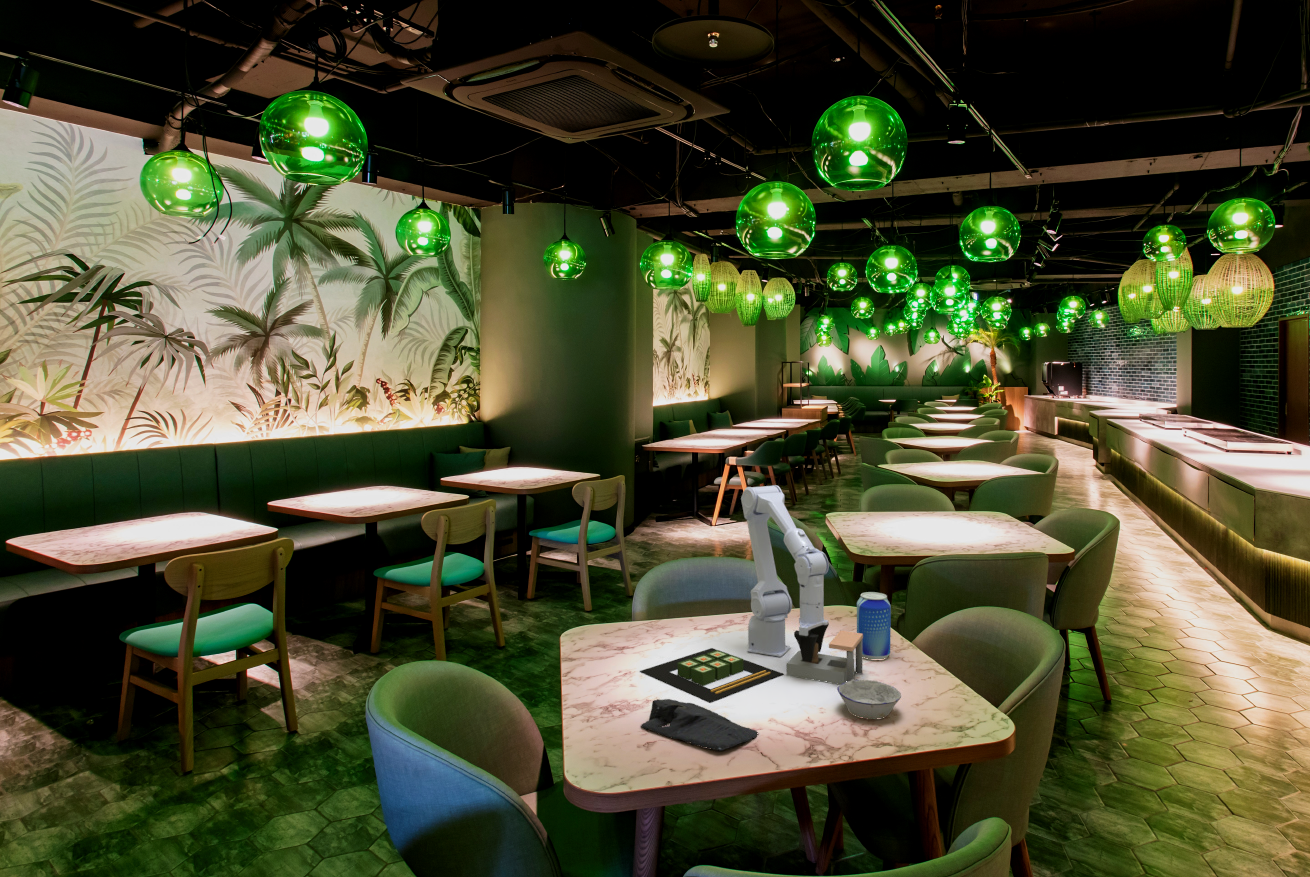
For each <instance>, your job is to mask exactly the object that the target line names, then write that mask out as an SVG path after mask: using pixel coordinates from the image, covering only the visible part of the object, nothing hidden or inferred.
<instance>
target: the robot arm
mask: <svg viewBox="0 0 1310 877" xmlns="http://www.w3.org/2000/svg"><path fill="white" fill-rule="evenodd" d="M740 497H741V498H740V500H741V505H742V510H743V517H744V519H745V520H746V523H747V527H748V534H749V541H750V545H751V549H752V555H753V561H754V568H755V572H756V577H757V583H756V584H755V586H753V588H752V589H751V590H750V595H751V596H750V598H751V599H750V600H751V602H750V609H751V612H752V614H753V615H752V616H750V618H749V621H748V626H747V627H748V628H747V631H748V632H747V638H748V640H747V641H748V644H747V646H748V648H747V650H746V652H748V653H754V654H758V655H759V654H760V655H766V656H773V657H781V658H782V657H783V656H784V655H785V654H786V653H787V652H788V651H789V650H790V649H791V646H789V645H786V619H788V617H789V616H788V615H789V614H790V613H791V612H792V608H793V600H792V598H791V596H790V594H789V590H788V587H787V585H785V584H784V582H782V581H780V580H779V579H778V573H777V569H776V564H775V559H774V554H773V553H774V552H773V549H772V543H771V537H770V532H769V526H768V521H769V519H770V518H772V520H773V521H774V522H775V524H776V525H777V526H778V528H779V529H780V530H781V532H782V533H783V534H784V536H783V543H784V545H785V546H786V548H787V550H788V551H789V553H790V554H791V556H792V558H793V559H794V561H795V563H794V565H793V566H794V570H795V573H796V576H797V582H798V584H799V618H798V624H799V626H798V630H795V631H794V632H793V636H794V638H795V640H796V642H797V644H798V647H799V651H801V656H802V659H803V661H807V662H812V659H813V653H814V646H815V643H818V653H821V650H822V646H823V643H824V642H823V641H824V637H825V634H826V631H827V629H828V627H829V626H830V624H829V620H828V619H825V617H824V616H825V615H824V613H825V611H824V610H825V609H824V604H825V603H824V600H825V598H824V590H825V589H824V585H825V584H824V581H825V580H824V579H825V578H824V576H825V575H827V573H828V572H829V568H830V565H829V562H830V561H829V560H828V557H827V555H826V553H824V552H823V551H822V550H819V549H818V548H816V547H814V545H813V543H812V542H811V540H810V539H809V537H808V536H807V534H806V533H805V531H804V529H801V528H798V527H797V526H796V524H795V522H794V521H793V519H792V517H791V514H790V513H789V510H788V509H787V507H786V505H785V497H786V496H785V494H784V493H783V491H782V489H781V487H780V486H779V485H776V484H773V485H766V486H753V487H751V486H747V487H745V489H744V490H743V492H742V495H741V496H740ZM766 592H769V593H766Z"/></svg>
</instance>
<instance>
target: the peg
mask: <svg viewBox="0 0 1310 877" xmlns="http://www.w3.org/2000/svg"><path fill="white" fill-rule="evenodd" d="M818 654H819V652H818V643H815V646H814V653H813V659H812V662H808V663H814V664H818ZM805 662H807V661H805Z"/></svg>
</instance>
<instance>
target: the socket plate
mask: <svg viewBox="0 0 1310 877" xmlns="http://www.w3.org/2000/svg"><path fill="white" fill-rule="evenodd" d="M786 676H789V677H793V678H799V677H800V678H801V679H805V678H807V680H811V679H814V680H813V681H816V680H820V681H819V682H822V681H827V682H826V683H828V682H832V683H831V684H834V683H838V684H837V685H840V684H843V683H845V682H846V681H847V657H844V656H843V657H842V656H836V655H830V654H824V653H818V664H814V663H808V662H805V661H803V659H802V656H801V651H800V650H798V651H797V652H796V653H795V654H794V655H793V656H792V657H791V658H790V659H789V660H788V661H787V662H786Z"/></svg>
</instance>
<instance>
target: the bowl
mask: <svg viewBox="0 0 1310 877" xmlns="http://www.w3.org/2000/svg"><path fill="white" fill-rule="evenodd" d="M836 689H837V692H838V694H839V696H840V697H841V699H842V701H843V703H844V704H845V706H846V708H847V710H848V712H849V713H850V712H851V713H852V714H851V713H850V714H851V715H853V714H854V715H856V716H859V717H863V718H868V719H877V718H883V717H885V716H887V715H888V716H889V715H890V713H891V712H892V710H893V709H894V707H895V706H896V704H897V703H898V702H899V701H900V700H901V698H902V693H901V692H900V690H898V689H897V688H895V687H894V686H892V685H890V684H887V683H885V682H881V681H877V680H868V679H857V678H856V679H854V680H853V679H852V680H851V681H847V682H845V683H843V684H841V685H840V684H838V686H837V688H836ZM854 715H853V716H854ZM856 716H855V717H856ZM888 716H887V717H888ZM859 717H858V718H859ZM885 718H886V717H885ZM868 719H867V720H868ZM883 719H884V718H883Z"/></svg>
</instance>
